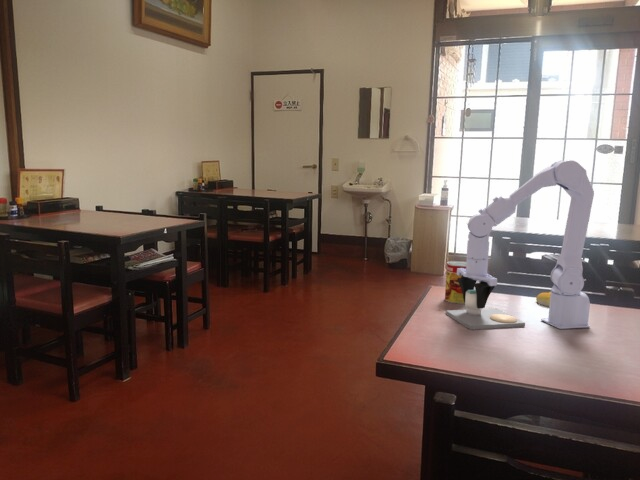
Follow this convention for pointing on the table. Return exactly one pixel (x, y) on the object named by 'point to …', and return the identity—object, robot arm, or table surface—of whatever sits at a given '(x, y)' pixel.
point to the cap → (471, 299)
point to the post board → (484, 318)
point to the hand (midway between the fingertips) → (474, 305)
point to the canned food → (454, 282)
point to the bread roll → (544, 299)
